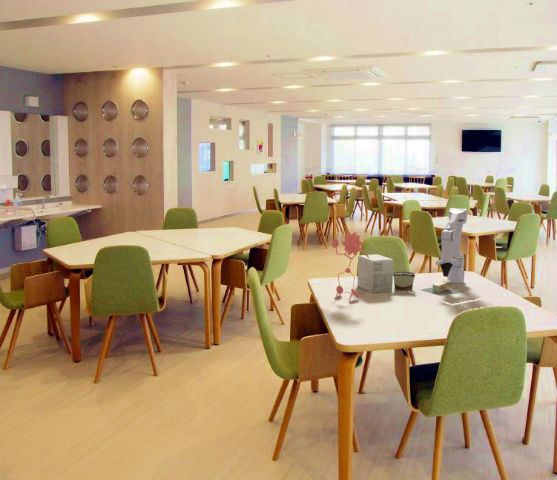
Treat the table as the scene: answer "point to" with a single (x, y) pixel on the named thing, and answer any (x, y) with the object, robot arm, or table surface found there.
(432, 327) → the table surface
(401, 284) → the food container
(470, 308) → the table surface
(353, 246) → the figurine
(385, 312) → the table surface
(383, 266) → the supplement box
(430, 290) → the mat
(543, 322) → the table surface
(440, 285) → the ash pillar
